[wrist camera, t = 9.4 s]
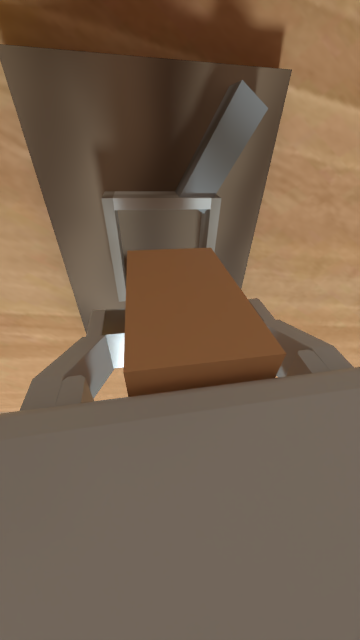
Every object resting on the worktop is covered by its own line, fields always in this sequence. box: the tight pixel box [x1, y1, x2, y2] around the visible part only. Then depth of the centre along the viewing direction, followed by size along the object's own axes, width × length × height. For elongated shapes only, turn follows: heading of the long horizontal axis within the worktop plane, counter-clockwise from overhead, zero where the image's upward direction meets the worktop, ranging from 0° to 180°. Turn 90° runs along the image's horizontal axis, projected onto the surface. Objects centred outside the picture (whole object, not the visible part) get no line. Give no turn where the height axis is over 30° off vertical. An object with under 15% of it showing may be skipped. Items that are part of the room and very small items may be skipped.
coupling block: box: [124, 248, 286, 397], centre depth 9 cm, size 4×4×7 cm
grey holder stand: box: [0, 44, 292, 334], centre depth 16 cm, size 14×18×4 cm
